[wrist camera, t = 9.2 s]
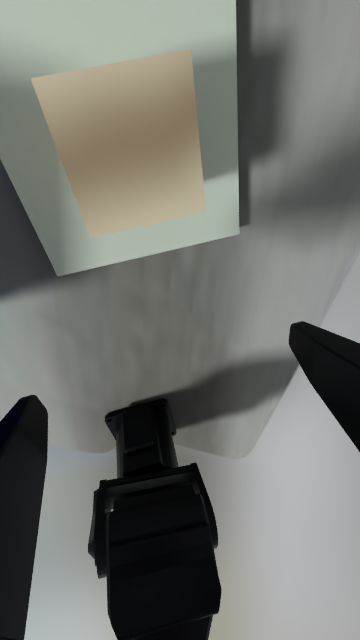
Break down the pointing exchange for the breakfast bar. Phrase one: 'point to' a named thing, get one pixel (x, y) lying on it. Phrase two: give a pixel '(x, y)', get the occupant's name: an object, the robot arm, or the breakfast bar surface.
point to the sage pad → (100, 49)
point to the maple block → (128, 140)
